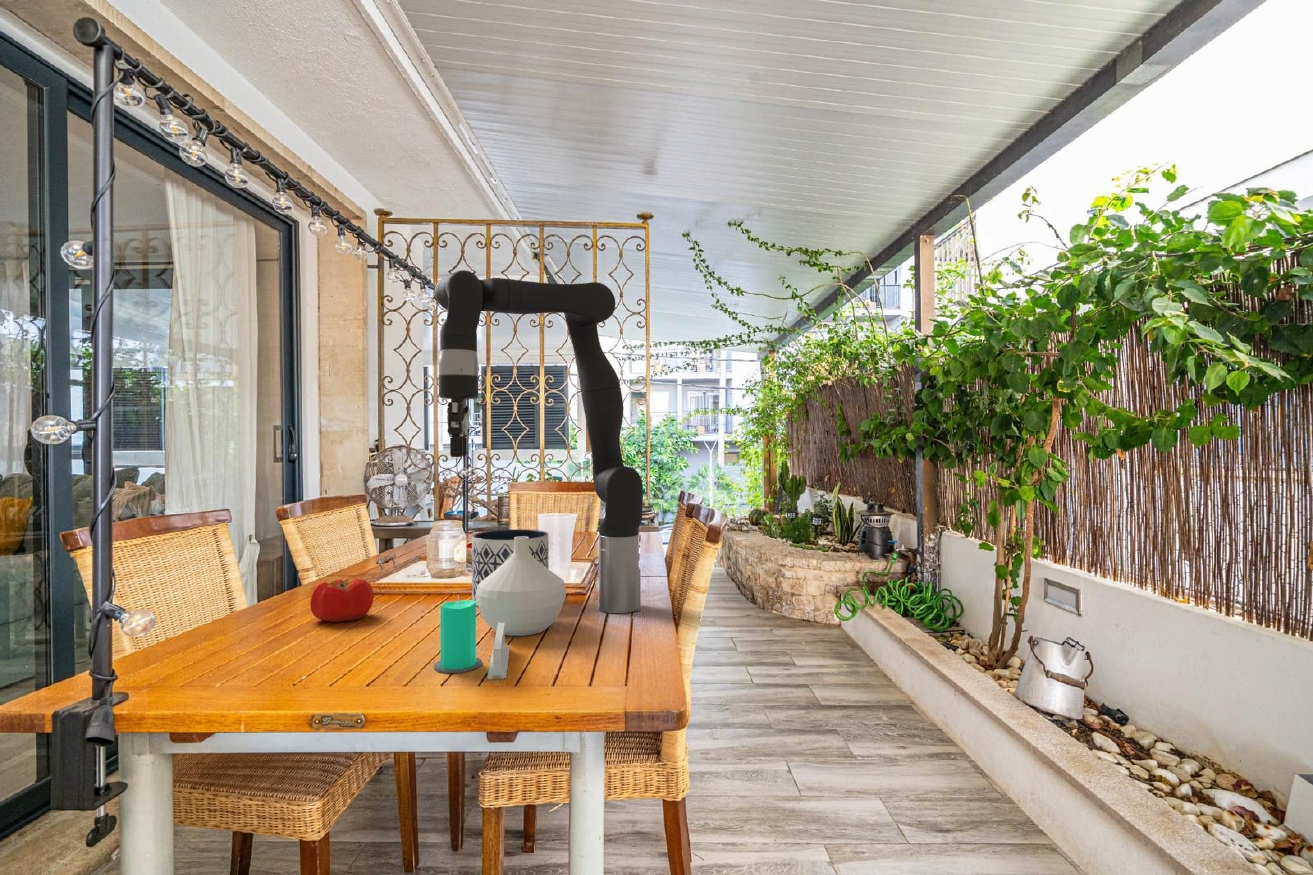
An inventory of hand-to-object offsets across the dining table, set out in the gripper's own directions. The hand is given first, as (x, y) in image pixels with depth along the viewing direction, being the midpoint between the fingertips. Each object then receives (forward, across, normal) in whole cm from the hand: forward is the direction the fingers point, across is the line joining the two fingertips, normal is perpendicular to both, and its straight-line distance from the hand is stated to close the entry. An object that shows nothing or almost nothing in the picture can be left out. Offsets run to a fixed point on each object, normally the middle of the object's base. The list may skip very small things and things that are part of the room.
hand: (458, 456), depth 134 cm
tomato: (+36, +21, +27) cm, 50 cm away
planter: (+36, +30, -9) cm, 48 cm away
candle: (+36, -16, -2) cm, 39 cm away
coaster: (+36, -16, -2) cm, 40 cm away
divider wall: (+36, -16, -8) cm, 40 cm away
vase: (+36, +5, -12) cm, 39 cm away
